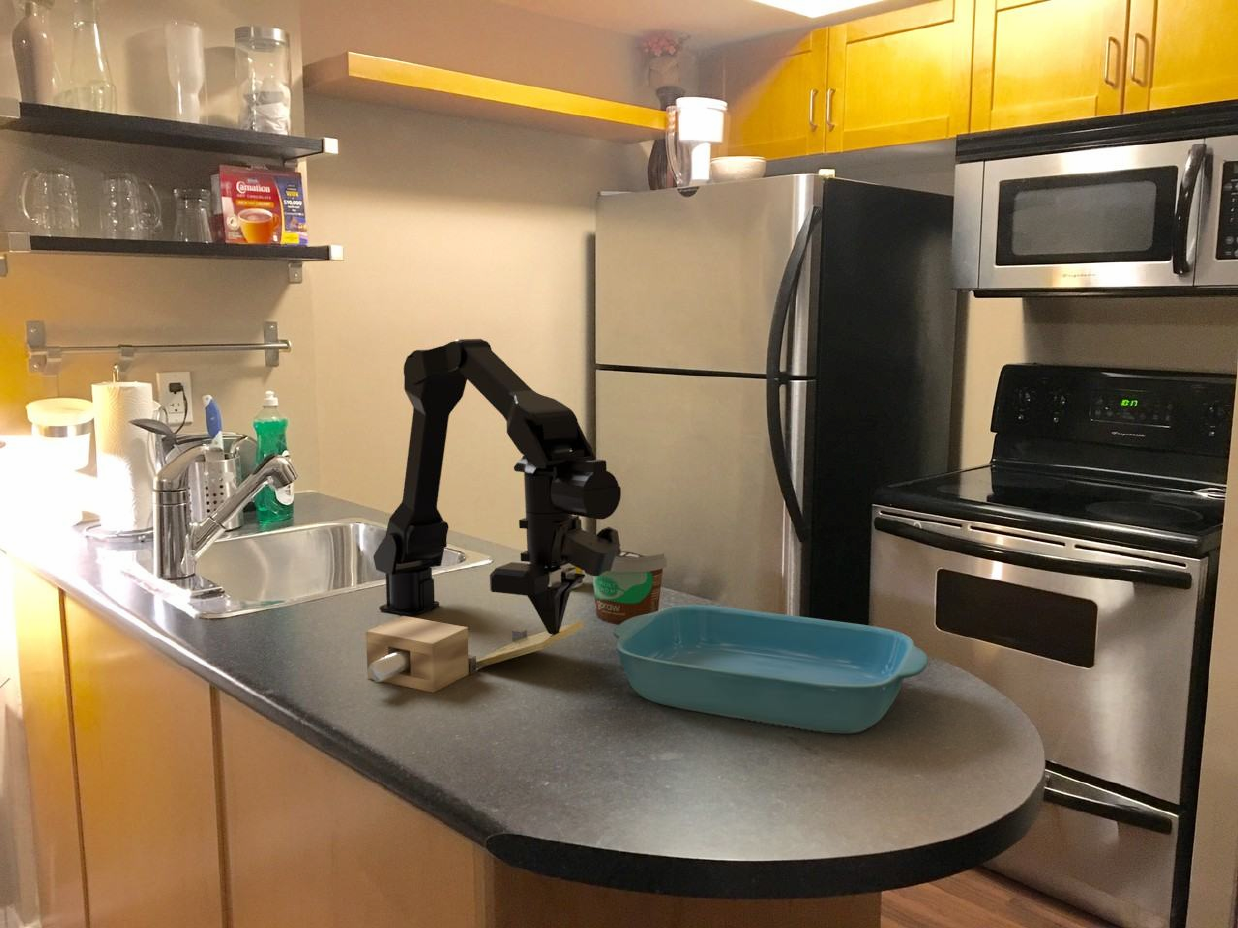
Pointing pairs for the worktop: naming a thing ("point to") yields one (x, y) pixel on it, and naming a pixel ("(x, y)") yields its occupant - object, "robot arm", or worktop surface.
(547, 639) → the plate
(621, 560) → the food container
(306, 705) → the worktop surface
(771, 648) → the casserole dish
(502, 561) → the worktop surface
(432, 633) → the block
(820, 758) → the worktop surface
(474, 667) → the keeper bracket
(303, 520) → the worktop surface
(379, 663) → the hitch pin
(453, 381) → the robot arm
